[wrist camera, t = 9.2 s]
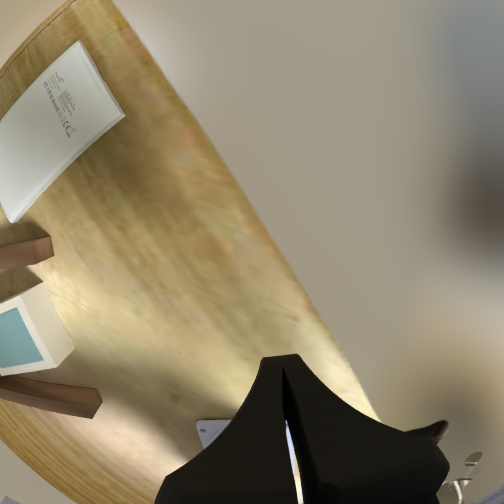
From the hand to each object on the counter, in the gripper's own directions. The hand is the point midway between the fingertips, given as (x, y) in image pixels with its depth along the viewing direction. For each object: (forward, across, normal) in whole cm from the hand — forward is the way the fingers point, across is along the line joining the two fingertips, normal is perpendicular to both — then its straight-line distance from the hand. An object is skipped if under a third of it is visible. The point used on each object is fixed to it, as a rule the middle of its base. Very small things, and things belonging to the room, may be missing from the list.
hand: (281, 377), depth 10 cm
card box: (+10, +21, +2) cm, 23 cm away
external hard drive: (+10, +15, -14) cm, 23 cm away
